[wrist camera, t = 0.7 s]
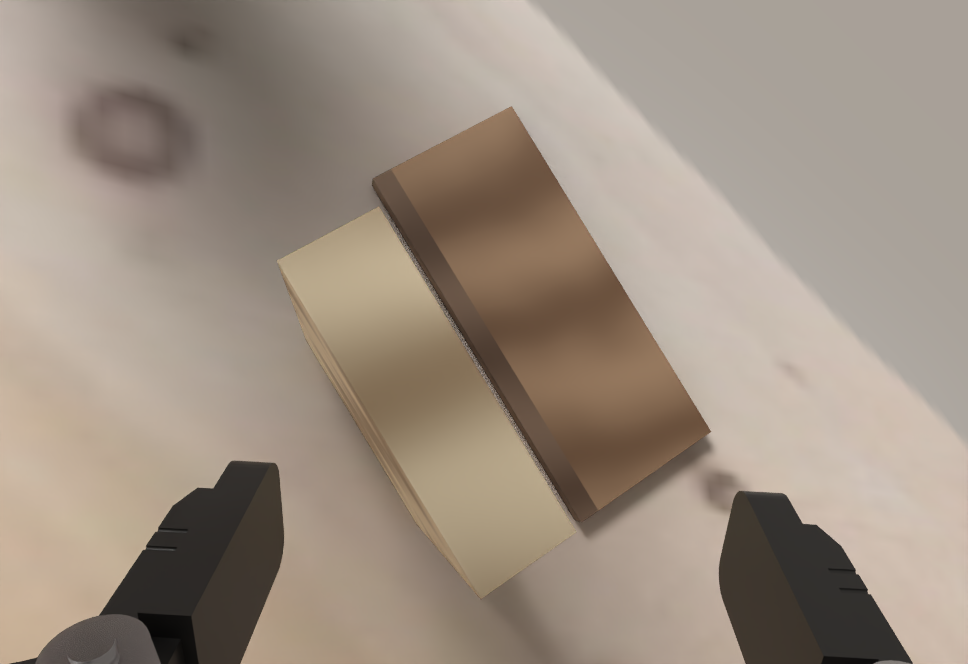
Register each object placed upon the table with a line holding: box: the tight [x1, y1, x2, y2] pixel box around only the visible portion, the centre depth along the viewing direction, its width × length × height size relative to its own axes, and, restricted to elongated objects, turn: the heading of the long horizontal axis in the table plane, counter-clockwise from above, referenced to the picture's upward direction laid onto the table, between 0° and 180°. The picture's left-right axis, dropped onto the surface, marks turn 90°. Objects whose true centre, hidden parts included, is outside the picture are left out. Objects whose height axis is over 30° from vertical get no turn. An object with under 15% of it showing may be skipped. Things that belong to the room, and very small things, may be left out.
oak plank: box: [277, 207, 576, 599], centre depth 27 cm, size 10×3×16 cm, turn 32°
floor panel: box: [372, 106, 711, 522], centre depth 36 cm, size 19×8×1 cm, turn 32°
